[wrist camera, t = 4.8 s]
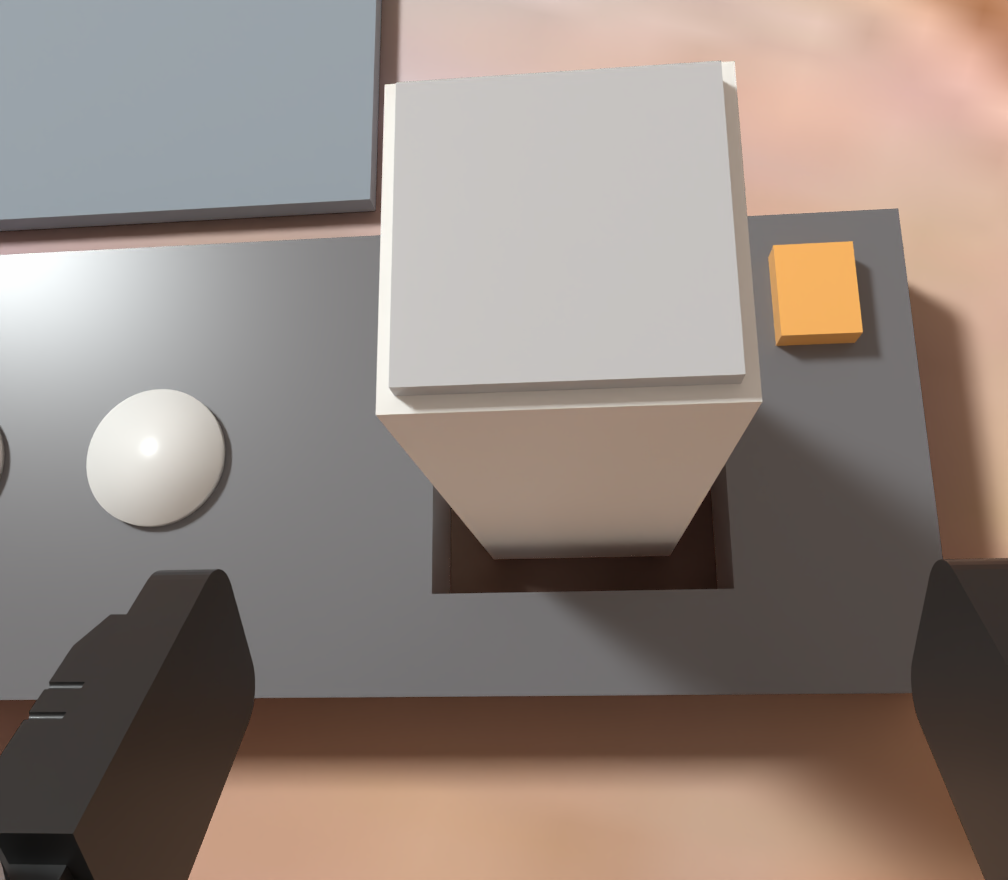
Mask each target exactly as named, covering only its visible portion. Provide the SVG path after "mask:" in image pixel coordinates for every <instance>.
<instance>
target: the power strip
mask: <svg viewBox="0 0 1008 880" xmlns="http://www.w3.org/2000/svg"><path fill="white" fill-rule="evenodd" d="M747 219H748V232H749V244H750V256H751V268H752V280H753V293H754V305H755V317H756V329H757V342H758V354H759V366H760V378H761V390H762V403H761V405H760V406H759V408H758V410H757V411H756V413H755V415H754V416H753V418H752V420H751V421H750V423H749V425H748V426H747V428H746V430H745V431H744V433H743V435H742V436H741V438H740V440H739V441H738V443H737V445H736V446H735V448H734V450H733V451H732V453H731V455H730V456H729V458H728V460H727V461H726V463H725V465H724V466H723V468H722V470H721V471H720V473H719V475H718V476H717V478H716V480H715V481H714V483H713V485H712V486H711V500H712V515H713V530H714V545H715V561H716V576H717V589H686V590H629V591H571V592H513V593H455V594H450V560H451V506H450V505H449V504H448V503H447V502H446V500H445V499H444V498H443V497H442V495H441V494H440V493H439V492H438V491H437V489H436V488H435V487H434V486H433V484H432V483H431V482H430V481H429V480H428V478H427V477H426V476H425V475H424V473H423V472H422V471H421V470H420V469H419V467H418V466H417V465H416V464H415V462H414V461H413V460H412V459H411V458H410V456H409V455H408V454H407V453H406V452H405V450H404V449H403V448H402V447H401V445H400V444H399V443H398V442H397V441H396V439H395V438H394V437H393V436H392V434H391V433H390V432H389V431H388V430H387V428H386V427H385V426H384V425H383V423H382V422H381V421H380V420H379V419H378V417H377V416H376V381H377V345H378V308H379V272H380V235H378V236H359V237H340V238H321V239H301V240H282V241H263V242H244V243H224V244H205V245H186V246H167V247H147V248H128V249H109V250H89V251H70V252H51V253H32V254H12V255H0V700H37V699H38V698H39V696H40V695H41V693H42V692H43V690H44V689H48V688H49V681H50V680H51V678H52V677H53V675H54V674H55V672H56V670H57V669H58V667H59V666H60V664H61V663H62V661H63V660H64V658H65V657H66V655H67V654H68V652H69V651H70V649H71V648H72V646H73V645H74V644H76V643H77V642H78V641H79V640H80V639H82V638H83V637H84V636H85V635H86V634H88V633H89V632H90V631H91V630H92V629H94V628H95V627H96V626H97V625H98V624H100V623H101V622H102V621H103V620H104V619H106V618H107V617H108V616H109V615H110V614H127V613H128V611H129V609H130V608H131V606H132V605H133V603H134V601H135V600H136V598H137V596H138V595H139V593H140V591H141V590H142V588H143V587H144V585H145V583H146V582H147V580H148V579H149V577H150V576H151V575H152V574H153V573H154V572H156V571H158V570H195V569H221V570H223V571H224V572H225V573H226V574H227V576H228V578H229V580H230V582H231V585H232V589H233V593H234V596H235V600H236V603H237V607H238V611H239V614H240V618H241V621H242V625H243V629H244V632H245V636H246V639H247V643H248V647H249V650H250V654H251V658H252V661H253V666H254V672H255V697H254V698H328V697H462V696H596V695H731V694H865V693H912V688H911V665H912V659H913V654H914V649H915V644H916V639H917V634H918V629H919V624H920V619H921V615H922V610H923V605H924V600H925V595H926V590H927V585H928V580H929V576H930V572H931V569H932V567H933V565H934V564H935V562H936V561H938V560H940V559H943V557H942V549H941V541H940V533H939V526H938V518H937V510H936V502H935V494H934V486H933V479H932V471H931V463H930V455H929V447H928V439H927V431H926V424H925V416H924V408H923V400H922V392H921V384H920V376H919V369H918V361H917V353H916V345H915V337H914V329H913V322H912V314H911V306H910V298H909V290H908V282H907V274H906V267H905V259H904V251H903V243H902V235H901V227H900V220H899V212H898V209H879V210H860V211H841V212H821V213H802V214H783V215H764V216H747Z"/></svg>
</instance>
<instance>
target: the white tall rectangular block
mask: <svg viewBox="0 0 1008 880" xmlns="http://www.w3.org/2000/svg"><path fill="white" fill-rule="evenodd" d="M761 403H762V390H761V378H760V366H759V354H758V342H757V329H756V317H755V305H754V293H753V280H752V268H751V256H750V244H749V232H748V219H747V207H746V195H745V183H744V171H743V158H742V146H741V134H740V122H739V109H738V97H737V85H736V73H735V61H731V62H721V61H709V62H694V63H679V64H664V65H649V66H634V67H619V68H604V69H589V70H574V71H559V72H544V73H529V74H514V75H499V76H484V77H469V78H454V79H439V80H424V81H409V82H396V84H385V89H384V126H383V162H382V199H381V235H380V272H379V308H378V345H377V381H376V416H377V417H378V419H379V420H380V421H381V422H382V423H383V425H384V426H385V427H386V428H387V430H388V431H389V432H390V433H391V434H392V436H393V437H394V438H395V439H396V441H397V442H398V443H399V444H400V445H401V447H402V448H403V449H404V450H405V452H406V453H407V454H408V455H409V456H410V458H411V459H412V460H413V461H414V462H415V464H416V465H417V466H418V467H419V469H420V470H421V471H422V472H423V473H424V475H425V476H426V477H427V478H428V480H429V481H430V482H431V483H432V484H433V486H434V487H435V488H436V489H437V491H438V492H439V493H440V494H441V495H442V497H443V498H444V499H445V500H446V502H447V503H448V504H449V505H450V506H451V508H452V509H453V510H454V511H455V513H456V514H457V515H458V516H459V517H460V519H461V520H462V521H463V522H464V524H465V525H466V526H467V527H468V528H469V530H470V531H471V532H472V533H473V534H474V536H475V537H476V538H477V539H478V541H479V542H480V543H481V544H482V545H483V547H484V548H485V549H486V550H487V552H488V553H489V554H490V555H491V556H492V558H493V559H532V558H581V557H630V556H670V555H671V553H672V551H673V550H674V548H675V546H676V545H677V543H678V541H679V540H680V538H681V536H682V535H683V533H684V531H685V530H686V528H687V526H688V525H689V523H690V521H691V520H692V518H693V516H694V515H695V513H696V511H697V510H698V508H699V506H700V505H701V503H702V501H703V500H704V498H705V496H706V495H707V493H708V491H709V490H710V488H711V486H712V485H713V483H714V481H715V480H716V478H717V476H718V475H719V473H720V471H721V470H722V468H723V466H724V465H725V463H726V461H727V460H728V458H729V456H730V455H731V453H732V451H733V450H734V448H735V446H736V445H737V443H738V441H739V440H740V438H741V436H742V435H743V433H744V431H745V430H746V428H747V426H748V425H749V423H750V421H751V420H752V418H753V416H754V415H755V413H756V411H757V410H758V408H759V406H760V405H761Z"/></svg>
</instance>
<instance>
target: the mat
mask: <svg viewBox="0 0 1008 880" xmlns="http://www.w3.org/2000/svg"><path fill="white" fill-rule="evenodd" d="M381 4H382V0H0V231H13V230H32V229H50V228H69V227H87V226H105V225H124V224H142V223H161V222H179V221H198V220H216V219H234V218H253V217H271V216H290V215H308V214H326V213H345V212H363V211H375V209H376V175H377V140H378V106H379V72H380V38H381Z"/></svg>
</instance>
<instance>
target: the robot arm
mask: <svg viewBox="0 0 1008 880" xmlns="http://www.w3.org/2000/svg"><path fill="white" fill-rule="evenodd" d="M911 688H912V696H913V702H914V707H915V711H916V714H917V717H918V720H919V723H920V725H921V728H922V730H923V732H924V735H925V737H926V740H927V742H928V744H929V747H930V749H931V752H932V754H933V756H934V759H935V761H936V763H937V766H938V768H939V771H940V773H941V775H942V778H943V780H944V783H945V785H946V787H947V790H948V792H949V795H950V797H951V799H952V802H953V804H954V807H955V809H956V811H957V814H958V816H959V819H960V821H961V823H962V826H963V828H964V830H965V833H966V835H967V838H968V840H969V842H970V845H971V847H972V850H973V852H974V854H975V857H976V859H977V862H978V864H979V866H980V869H981V871H982V874H983V876H984V878H985V880H1008V558H995V559H940V560H938V561H936V562H935V564H934V565H933V567H932V569H931V572H930V576H929V580H928V585H927V590H926V595H925V600H924V605H923V610H922V615H921V619H920V624H919V629H918V634H917V639H916V644H915V649H914V654H913V659H912V665H911ZM254 697H255V672H254V666H253V661H252V658H251V654H250V650H249V647H248V643H247V639H246V636H245V632H244V629H243V625H242V621H241V618H240V614H239V611H238V607H237V603H236V600H235V596H234V593H233V589H232V585H231V582H230V580H229V578H228V576H227V574H226V573H225V572H224V571H223V570H221V569H195V570H158V571H156V572H154V573H153V574H152V575H151V576H150V577H149V579H148V580H147V582H146V583H145V585H144V587H143V588H142V590H141V591H140V593H139V595H138V596H137V598H136V600H135V601H134V603H133V605H132V606H131V608H130V609H129V611H128V613H127V614H110V615H109V616H108V617H107V618H106V619H104V620H103V621H102V622H101V623H100V624H98V625H97V626H96V627H95V628H94V629H92V630H91V631H90V632H89V633H88V634H86V635H85V636H84V637H83V638H82V639H80V640H79V641H78V642H77V643H76V644H74V645H73V646H72V648H71V649H70V651H69V652H68V654H67V655H66V657H65V658H64V660H63V661H62V663H61V664H60V666H59V667H58V669H57V670H56V672H55V674H54V675H53V677H52V678H51V680H50V681H49V688H48V689H44V690H43V692H42V693H41V695H40V696H39V698H38V699H37V701H36V702H35V704H34V705H33V707H32V708H31V710H30V711H29V714H30V716H29V719H28V720H24V721H23V722H22V724H21V725H20V727H19V728H18V730H17V731H16V733H15V734H14V736H13V737H12V739H11V740H10V742H9V743H8V745H7V746H6V748H5V749H4V751H3V752H2V754H1V755H0V880H188V878H189V875H190V872H191V870H192V867H193V865H194V862H195V859H196V857H197V854H198V852H199V849H200V847H201V844H202V841H203V839H204V836H205V834H206V831H207V829H208V826H209V823H210V821H211V818H212V816H213V813H214V810H215V808H216V805H217V803H218V800H219V798H220V795H221V792H222V790H223V787H224V785H225V782H226V780H227V777H228V774H229V772H230V769H231V767H232V764H233V761H234V759H235V756H236V754H237V751H238V749H239V746H240V743H241V741H242V738H243V736H244V733H245V731H246V728H247V725H248V723H249V720H250V717H251V714H252V710H253V704H254Z"/></svg>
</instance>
